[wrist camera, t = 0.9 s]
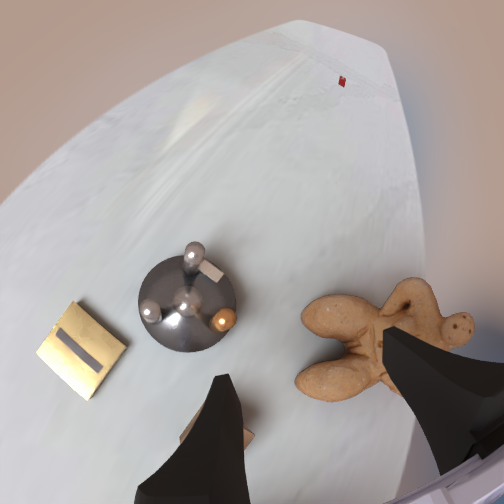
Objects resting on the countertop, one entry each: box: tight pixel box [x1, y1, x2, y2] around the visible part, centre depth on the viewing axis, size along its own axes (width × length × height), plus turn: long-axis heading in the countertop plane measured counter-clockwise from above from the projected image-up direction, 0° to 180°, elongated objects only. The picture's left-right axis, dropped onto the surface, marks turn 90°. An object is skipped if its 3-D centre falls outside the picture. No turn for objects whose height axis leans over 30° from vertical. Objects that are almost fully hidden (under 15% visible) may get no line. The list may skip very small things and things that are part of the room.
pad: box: [37, 301, 127, 400], centre depth 21 cm, size 6×6×1 cm
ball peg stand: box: [138, 242, 237, 353], centre depth 23 cm, size 8×8×6 cm
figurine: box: [295, 278, 475, 402], centre depth 23 cm, size 11×9×15 cm
